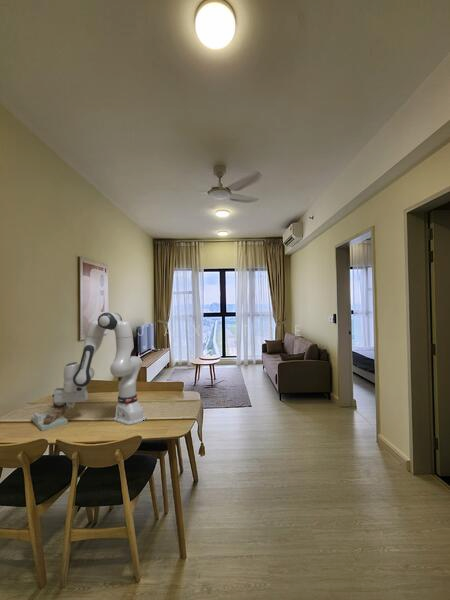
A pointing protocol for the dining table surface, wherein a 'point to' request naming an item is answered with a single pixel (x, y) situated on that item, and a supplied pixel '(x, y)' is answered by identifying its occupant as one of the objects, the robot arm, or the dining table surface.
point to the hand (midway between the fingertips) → (70, 408)
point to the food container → (59, 404)
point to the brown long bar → (54, 416)
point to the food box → (60, 421)
